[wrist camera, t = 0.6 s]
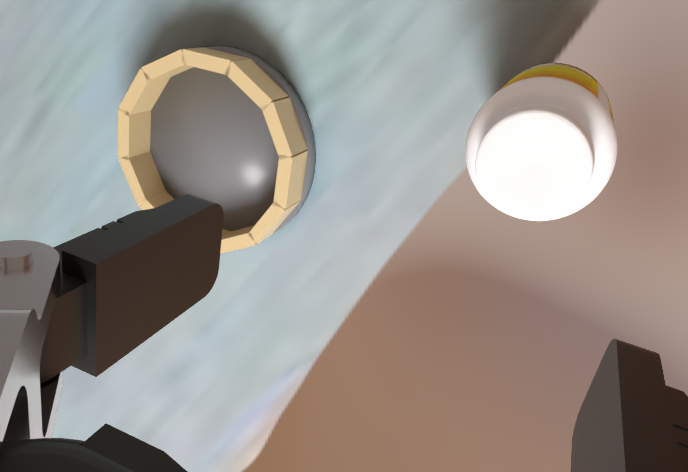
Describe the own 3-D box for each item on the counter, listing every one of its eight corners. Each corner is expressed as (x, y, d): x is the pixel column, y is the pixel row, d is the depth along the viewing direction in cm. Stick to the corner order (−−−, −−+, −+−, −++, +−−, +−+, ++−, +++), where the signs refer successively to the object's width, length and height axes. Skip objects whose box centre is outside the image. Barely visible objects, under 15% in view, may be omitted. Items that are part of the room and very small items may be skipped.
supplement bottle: (473, 99, 30) (424, 134, 21) (578, 38, 28) (572, 49, 19) (524, 193, 31) (496, 264, 22) (632, 143, 28) (650, 201, 19)
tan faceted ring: (150, 28, 36) (115, 29, 33) (329, 69, 33) (307, 74, 30) (145, 209, 41) (114, 222, 38) (301, 261, 37) (279, 280, 35)
